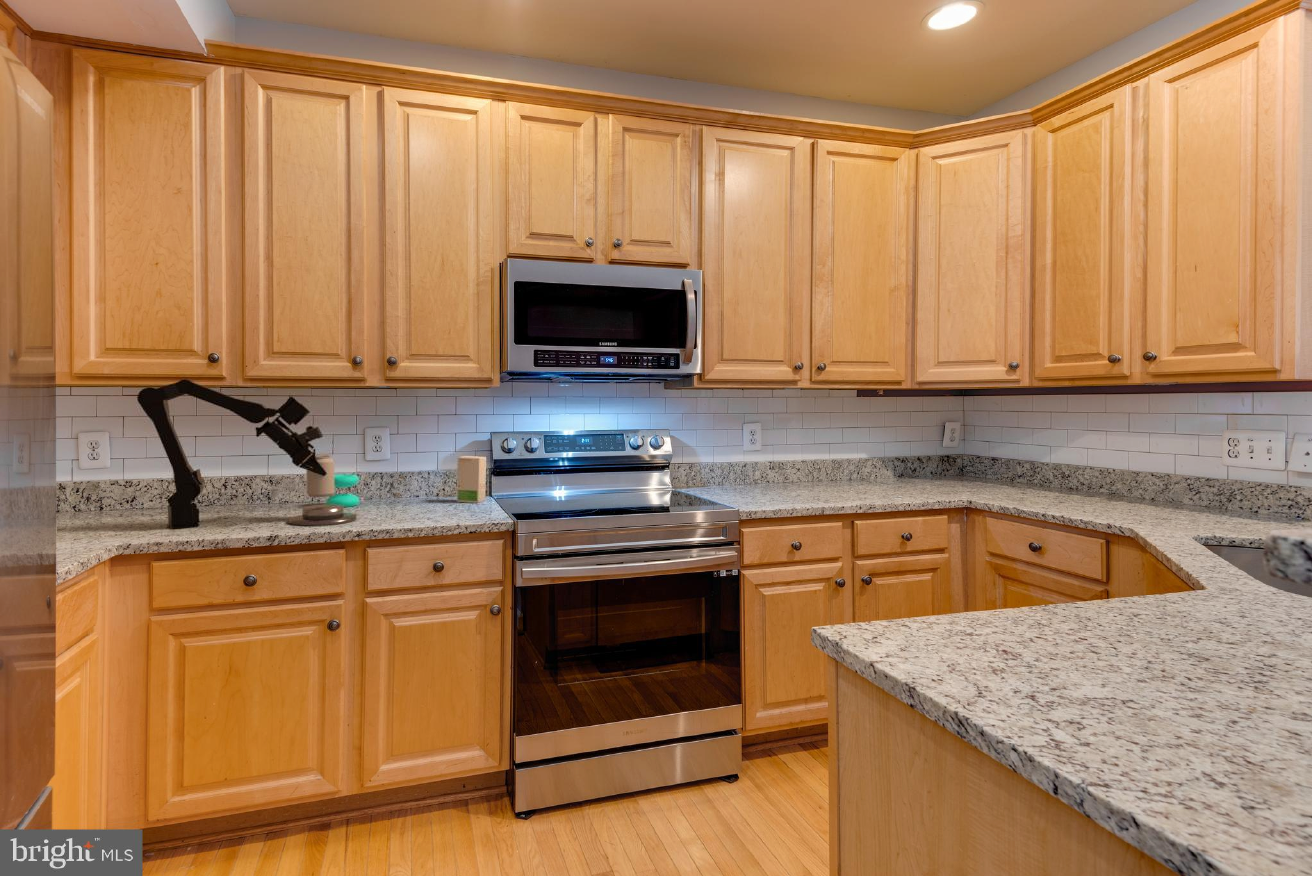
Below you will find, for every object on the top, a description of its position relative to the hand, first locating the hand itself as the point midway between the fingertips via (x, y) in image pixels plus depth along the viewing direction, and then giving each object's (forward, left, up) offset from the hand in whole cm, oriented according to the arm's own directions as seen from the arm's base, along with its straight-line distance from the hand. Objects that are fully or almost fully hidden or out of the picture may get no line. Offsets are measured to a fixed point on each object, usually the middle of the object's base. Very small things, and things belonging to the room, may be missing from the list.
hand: (325, 473), depth 221 cm
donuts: (+14, +20, -14) cm, 28 cm away
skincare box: (+49, -2, -14) cm, 51 cm away
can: (-1, +1, -7) cm, 7 cm away
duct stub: (-3, -4, -13) cm, 14 cm away
